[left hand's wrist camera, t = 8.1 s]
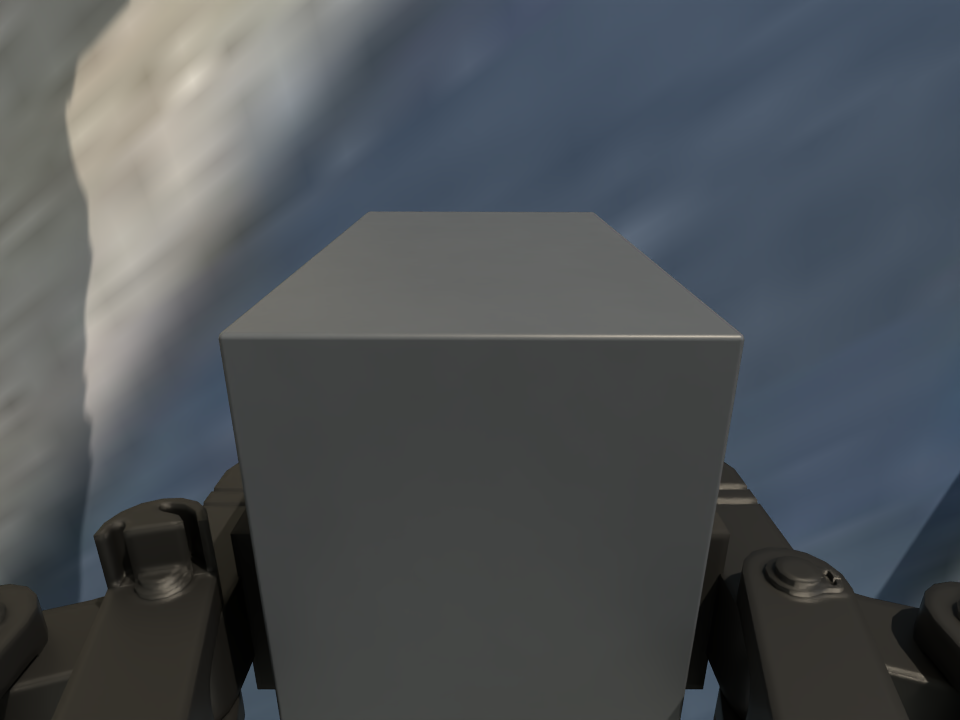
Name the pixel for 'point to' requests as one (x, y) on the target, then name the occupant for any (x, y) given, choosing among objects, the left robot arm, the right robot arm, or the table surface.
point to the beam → (480, 470)
